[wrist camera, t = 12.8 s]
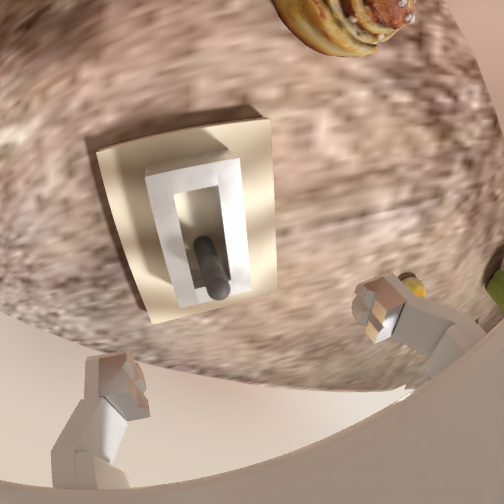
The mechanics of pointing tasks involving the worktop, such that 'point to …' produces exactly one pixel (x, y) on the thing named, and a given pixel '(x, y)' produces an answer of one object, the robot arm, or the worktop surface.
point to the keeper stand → (193, 212)
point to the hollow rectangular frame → (227, 215)
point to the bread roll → (415, 286)
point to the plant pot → (497, 288)
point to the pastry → (345, 23)
